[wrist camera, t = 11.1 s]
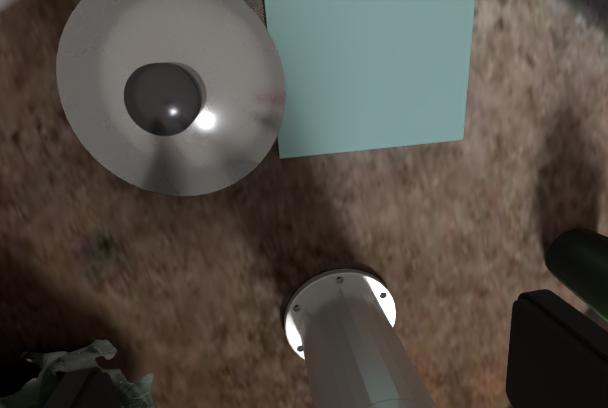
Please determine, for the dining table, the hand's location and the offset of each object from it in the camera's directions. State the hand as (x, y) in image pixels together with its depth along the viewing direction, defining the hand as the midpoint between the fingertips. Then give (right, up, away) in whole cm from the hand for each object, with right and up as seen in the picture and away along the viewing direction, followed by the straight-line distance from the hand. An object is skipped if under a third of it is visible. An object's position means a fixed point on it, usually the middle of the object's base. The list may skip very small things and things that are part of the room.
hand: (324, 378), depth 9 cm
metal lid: (-9, +12, +18) cm, 23 cm away
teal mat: (+6, +18, +24) cm, 31 cm away
